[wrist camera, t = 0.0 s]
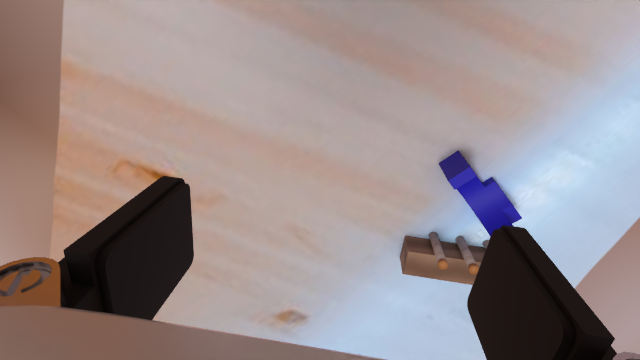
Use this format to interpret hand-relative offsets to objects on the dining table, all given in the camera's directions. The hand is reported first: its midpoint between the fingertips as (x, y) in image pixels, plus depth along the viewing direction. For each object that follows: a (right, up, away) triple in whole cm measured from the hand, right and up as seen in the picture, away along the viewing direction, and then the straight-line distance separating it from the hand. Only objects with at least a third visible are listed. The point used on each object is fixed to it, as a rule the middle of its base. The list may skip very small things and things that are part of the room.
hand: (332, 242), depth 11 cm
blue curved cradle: (+22, +1, +38) cm, 43 cm away
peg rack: (+20, -9, +42) cm, 47 cm away
